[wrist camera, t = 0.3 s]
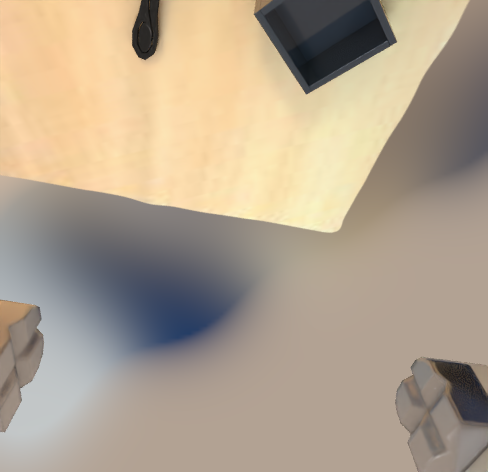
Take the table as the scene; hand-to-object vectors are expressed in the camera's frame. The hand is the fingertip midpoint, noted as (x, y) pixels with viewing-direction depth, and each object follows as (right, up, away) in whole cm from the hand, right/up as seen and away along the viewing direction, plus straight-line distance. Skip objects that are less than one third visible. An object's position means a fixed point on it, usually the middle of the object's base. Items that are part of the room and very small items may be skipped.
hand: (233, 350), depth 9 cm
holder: (+10, +31, +40) cm, 52 cm away
